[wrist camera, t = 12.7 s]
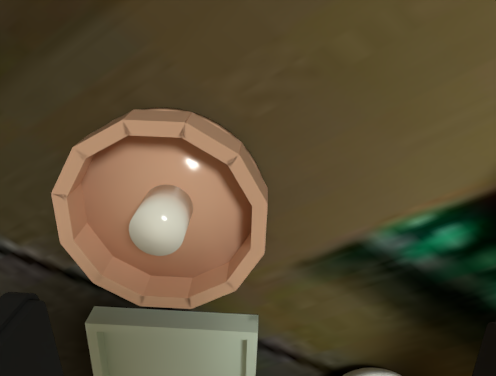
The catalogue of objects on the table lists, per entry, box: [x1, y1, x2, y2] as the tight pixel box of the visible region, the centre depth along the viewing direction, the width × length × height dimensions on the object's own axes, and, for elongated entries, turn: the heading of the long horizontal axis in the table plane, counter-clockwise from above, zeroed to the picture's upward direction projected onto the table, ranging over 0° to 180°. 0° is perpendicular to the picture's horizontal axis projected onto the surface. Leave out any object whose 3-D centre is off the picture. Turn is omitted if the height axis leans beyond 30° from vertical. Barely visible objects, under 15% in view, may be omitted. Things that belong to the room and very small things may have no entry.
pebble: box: [129, 184, 193, 256], centre depth 36 cm, size 4×4×4 cm
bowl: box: [51, 108, 268, 309], centre depth 37 cm, size 17×17×4 cm
